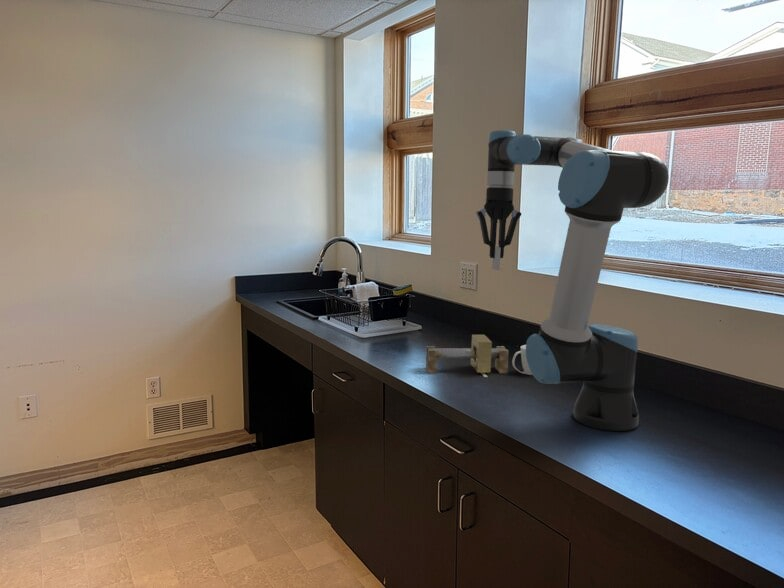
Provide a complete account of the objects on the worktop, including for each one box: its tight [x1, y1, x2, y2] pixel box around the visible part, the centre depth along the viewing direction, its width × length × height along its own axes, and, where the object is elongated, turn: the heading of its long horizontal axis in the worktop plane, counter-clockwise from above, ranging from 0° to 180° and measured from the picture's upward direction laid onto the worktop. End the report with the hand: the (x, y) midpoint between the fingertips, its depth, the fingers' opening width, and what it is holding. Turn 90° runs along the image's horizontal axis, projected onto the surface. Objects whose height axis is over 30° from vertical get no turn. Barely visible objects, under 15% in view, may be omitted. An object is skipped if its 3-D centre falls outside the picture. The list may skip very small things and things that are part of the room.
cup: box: [511, 344, 533, 376], centre depth 184 cm, size 7×10×8 cm
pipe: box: [428, 347, 507, 359], centre depth 185 cm, size 24×3×3 cm, turn 95°
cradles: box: [425, 345, 509, 375], centre depth 185 cm, size 24×6×7 cm, turn 95°
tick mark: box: [480, 372, 488, 378], centre depth 186 cm, size 1×14×1 cm, turn 5°
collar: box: [470, 334, 493, 373], centre depth 185 cm, size 4×9×9 cm, turn 5°
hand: (495, 269), depth 175 cm, fingers closed
